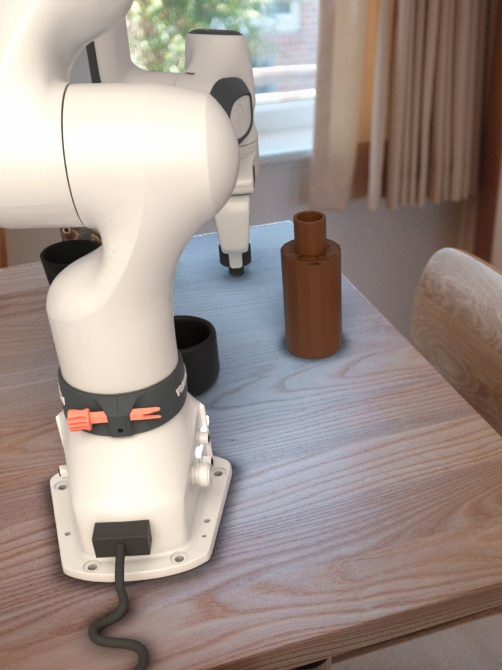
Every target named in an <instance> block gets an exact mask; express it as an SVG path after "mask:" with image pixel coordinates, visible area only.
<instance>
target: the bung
mask: <svg viewBox="0 0 502 670" xmlns="http://www.w3.org/2000/svg"><path fill="white" fill-rule="evenodd" d="M218 257H219V258H218V259H219V263H220V265H221V266H223V267H226V268H228V273H229V275H231V276H233V277H238V276H242V275H244V274H245V267H246V266H248V265H250V264H251V263H252V259H253V258H252V247H251V243H250V242H249V247H248V251H247V252H244V253H242V264H243V265H242V267H241V268H231V267H230V262H229V255H228V254H226V253H223V252H222V250H221V247H220V243H218Z"/></svg>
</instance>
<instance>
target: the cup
mask: <svg viewBox="0 0 502 670" xmlns="http://www.w3.org/2000/svg"><path fill="white" fill-rule="evenodd" d="M100 246H101V245H100V244H99V243H97V242H94V241H90V240H83V239H75V240H66V241H62V240H61V241H59V242H58V241H57V242H55V243H52V244H50V245H48V246H46V247H45V248H43V250H42V251H40V254H39V258H40V262H41V265H42V267H43V270H44V273H45V276H46V279H47V283H48V285H49V287H50V285H51V284H52V282H53V280H54V279H55V278H56V276H57V275H58V274H59V273H60V272H61V271H62V270H63V269H65V268H66V267H67V266H68V265H70V264H71V263H73V262H74V261H76V260H78V259H79V258H81V257H83V256H85V255H87V254H89V253H91V252H92V251H94V250H96V249H97V248H99V247H100Z"/></svg>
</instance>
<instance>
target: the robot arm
mask: <svg viewBox="0 0 502 670" xmlns="http://www.w3.org/2000/svg"><path fill="white" fill-rule="evenodd" d="M134 1H135V0H0V229H1V228H2V229H7V230H22V229H23V230H25V229H27V230H28V229H60V228H69V227H87V228H92V229H96V230H97V231H98V232H99V233H100V236H101V240H102V245H101V246H100V247H99V248H97V249H96V250H94V251H92V252H91V253H89V254H87V255H85V256H83V257H81V258H79V259H78V260H76V261H74V262H73V263H71V264H70V265H68V266H67V267H66V268H65V269H63V270H62V271H61V272H60V273H59V274H58V275H57V276H56V278H55V279H54V280H53V282H52V284H51V285H50V286H49V288H48V291H47V294H46V301H45V310H46V314H47V318H48V324H49V327H50V331H51V335H52V340H53V343H54V348H55V353H56V357H57V360H58V368H57V380H58V383H57V386H58V393H59V398H60V401H61V404H62V410H61V411H60V412H59V413H58V414H57V415H56V416H55V421H56V424H57V425H56V426H57V430H58V432H59V436H60V441H61V444H62V447H63V452H64V459H65V464H60V465H59V466H58V469H57V471H58V472H57V473H56V474H54V475H53V476H52V477H51V478H50V479H49V487H50V495H51V499H52V507H53V515H54V521H55V528H56V535H57V541H58V549H59V556H60V563H61V568H62V571H63V574H64V575H66V576H68V577H71V578H73V579H77V580H82V581H86V582H93V583H94V582H95V583H96V582H97V583H114V587H115V592H116V595H117V598H118V606H117V608H116V609H115V610H114V611H113V612H112V613H110V614H108V615H105V616H103V617H101V618H98V619H96V620H95V621H92V622H91V624H90V625H89V627H88V629H87V630H88V632H87V634H88V638H89V639H90V640H91V642H93V643H94V644H95V645H97V646H101V647H107V648H119V649H127V650H132V651H134V652H136V653H137V656H138V657H137V658H138V662H137V664H136V665H135V666H134V668H133V669H132V670H147V669H148V665H149V661H150V655H149V651H148V649H147V648H146V646H145V645H144V644H143V643H142V642H140V641H138V640H135V639H130V638H123V637H111V636H105V635H102V634H100V633H99V631H101V629H104V628H105V627H108V626H110V625H112V624H115V623H116V622H117V621H119V620H121V619H122V618H123V617H124V616H125V614H126V613H127V611H128V609H129V604H130V601H129V596H128V592H127V589H126V584H125V583H126V582H137V581H138V582H139V581H146V580H153V579H160V578H165V577H170V576H174V575H178V574H182V573H184V572H188V571H190V570H193V569H196V568H197V567H199V566H201V565H203V564H205V563H207V562H209V560H211V557H212V555H213V551H214V548H215V545H216V540H217V536H218V532H219V528H220V524H221V521H222V515H223V512H224V508H225V505H226V501H227V496H228V493H229V488H230V484H231V481H232V476H233V468H232V464H231V462H230V461H229V460H227V459H226V458H222V457H220V456H217V455H214V454H213V448H212V447H213V446H212V442H211V433H210V430H209V429H210V428H209V423H210V419H209V415H207V411H206V406H205V404H203V403H201V401H200V400H198V399H197V398H195V396H194V395H193V396H192V395H190V394H189V392H188V391H187V389H188V388H187V380H186V379H187V373H186V368H185V364H184V362H183V357H182V354H181V353H180V351H179V350H178V349H177V344H176V336H175V327H174V316H175V315H174V294H173V293H174V291H173V290H174V282H175V277H176V272H177V269H178V265H179V262H180V259H181V258H182V255H183V253H184V251H185V249H186V248H187V246H188V244H189V243H190V241H191V240H192V239H193V237H194V236H195V235H196V234H197V232H199V230H200V229H201V228H202V227H203V226H205V224H206V223H208V222H209V221H210V220H211V219H212V218H213V220H214V224H215V225H214V226H215V229H216V235H217V239H218V244H220V247H221V250H222V252H223V253H226V254H228V255H229V262H230V267H231V268H241V267H242V265H243V264H242V253H244V252H247V251H248V247H249V243H250V233H251V202H252V201H251V198H252V194H254V193H255V188H256V187H255V185H256V180H257V178H258V175H260V173H261V163H260V160H261V159H260V148H259V147H260V146H259V134H258V129H257V127H256V124H255V108H256V102H257V101H256V89H255V87H256V86H255V80H254V71H253V64H252V58H251V53H250V50H249V49H250V48H249V45H248V41H247V38H246V36H245V35H244V34H242V33H241V32H240V31H237V30H234V29H216V28H195V29H191V30H190V31H189V32H187V33H186V35H185V40H184V72H173V71H171V72H169V71H153V70H152V71H151V70H146V69H143V68H142V67H140V66H138V65H136V64H135V63H134V62H133V60H132V58H131V57H132V56H131V51H130V50H131V49H130V44H129V43H130V42H129V33H128V27H127V18H126V17H127V15H128V14H129V12H130V11H131V8H132V6H133V4H134ZM84 49H85V50H86V56H87V62H88V63H87V64H88V68H89V75H90V81H91V82H86V83H85V82H84V83H83V82H82V83H81V82H80V83H74V82H72V81H71V80H70V79H71V73H72V69H73V67H74V64H75V62H76V60H77V58H78V57H79V55H80V53H81V52H82V51H83V50H84Z"/></svg>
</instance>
